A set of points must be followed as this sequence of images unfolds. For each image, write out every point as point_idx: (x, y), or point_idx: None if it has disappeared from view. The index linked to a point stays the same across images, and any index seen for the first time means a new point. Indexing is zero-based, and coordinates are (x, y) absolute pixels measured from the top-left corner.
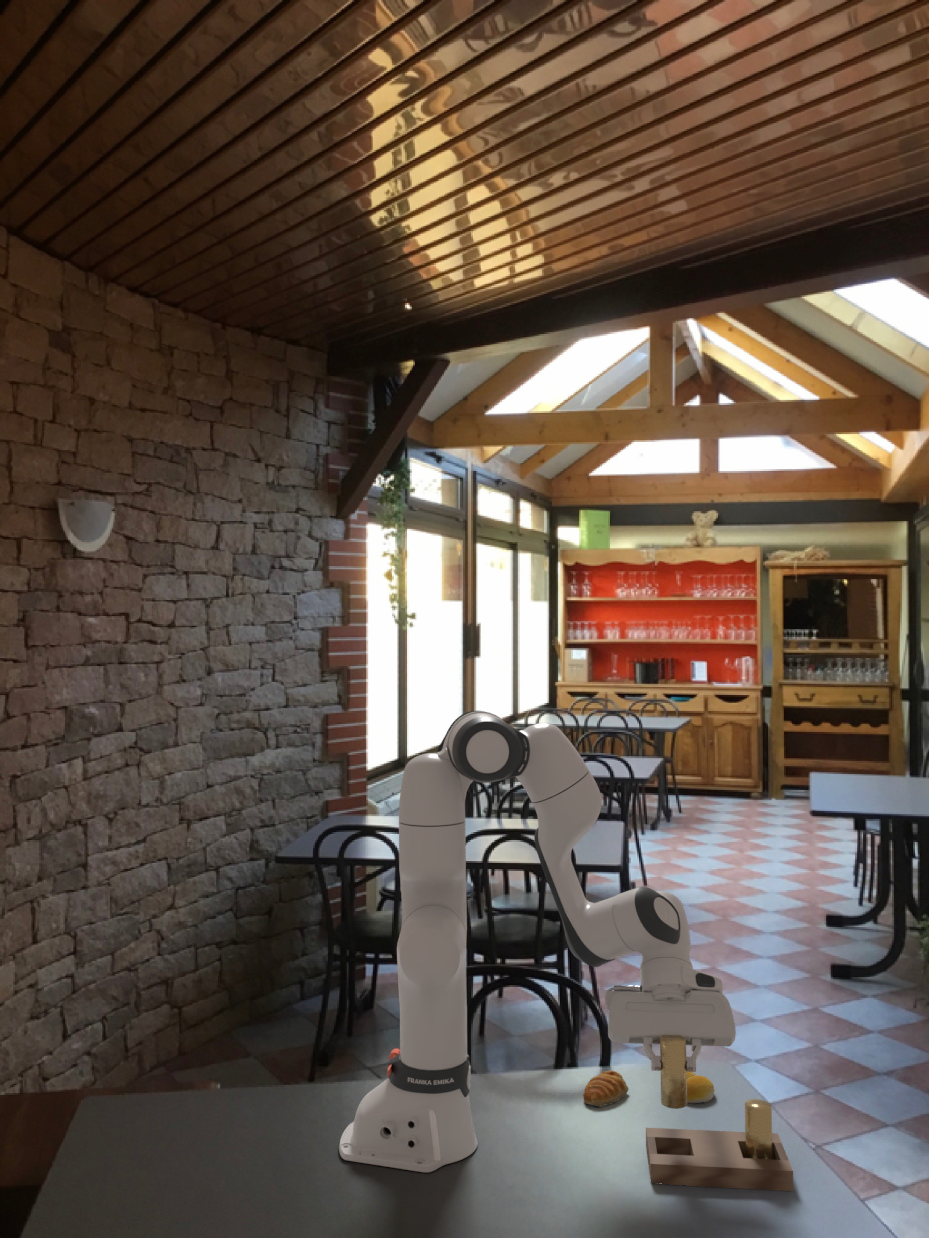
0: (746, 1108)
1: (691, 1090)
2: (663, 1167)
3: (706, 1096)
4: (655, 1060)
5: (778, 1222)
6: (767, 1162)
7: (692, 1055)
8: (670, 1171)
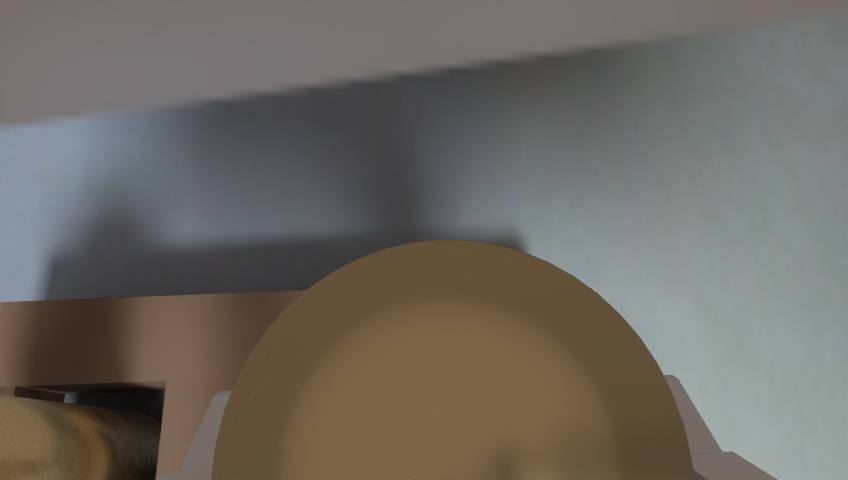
0: (3, 440)
1: None
2: None
3: None
4: None
5: (159, 133)
6: (77, 356)
7: (207, 473)
8: None
